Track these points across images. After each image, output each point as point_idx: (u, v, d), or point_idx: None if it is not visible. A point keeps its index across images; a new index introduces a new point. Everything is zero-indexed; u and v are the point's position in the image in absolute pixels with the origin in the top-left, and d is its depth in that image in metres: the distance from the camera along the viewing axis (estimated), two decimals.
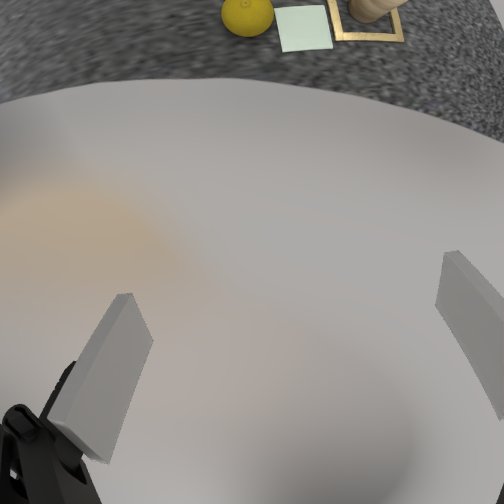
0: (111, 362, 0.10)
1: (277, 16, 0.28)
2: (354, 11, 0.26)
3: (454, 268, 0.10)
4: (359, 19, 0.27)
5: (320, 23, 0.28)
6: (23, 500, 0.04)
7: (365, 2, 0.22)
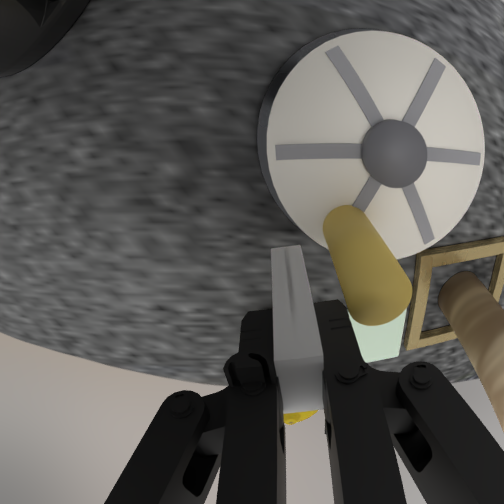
0: None
1: None
2: (447, 319, 0.19)
3: (284, 261, 0.13)
4: None
5: (392, 329, 0.22)
6: (186, 494, 0.06)
7: (470, 360, 0.16)
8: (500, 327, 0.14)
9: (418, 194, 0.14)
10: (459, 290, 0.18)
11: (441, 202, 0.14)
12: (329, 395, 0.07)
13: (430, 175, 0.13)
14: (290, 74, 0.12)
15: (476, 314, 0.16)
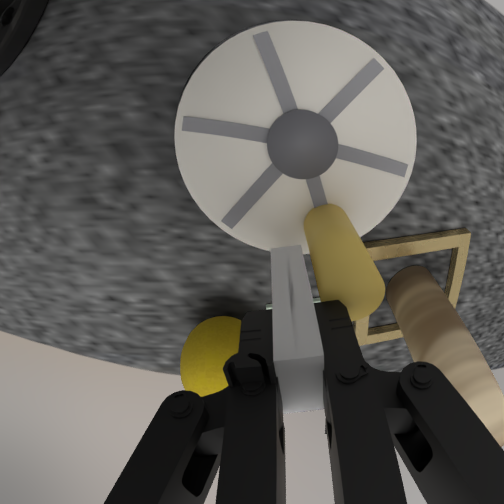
0: None
1: None
2: (394, 315, 0.20)
3: (285, 261, 0.13)
4: None
5: None
6: (185, 494, 0.06)
7: (413, 360, 0.16)
8: (443, 327, 0.15)
9: (356, 149, 0.14)
10: (405, 285, 0.19)
11: (384, 133, 0.13)
12: (330, 395, 0.07)
13: (351, 124, 0.13)
14: (180, 168, 0.14)
15: (419, 311, 0.17)
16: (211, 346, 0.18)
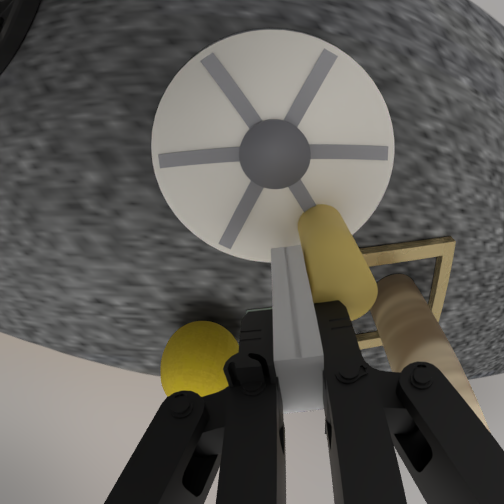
0: None
1: None
2: None
3: (285, 261, 0.13)
4: None
5: None
6: (185, 494, 0.06)
7: (392, 370, 0.17)
8: (421, 338, 0.15)
9: (330, 144, 0.14)
10: (386, 294, 0.19)
11: (354, 121, 0.13)
12: (329, 395, 0.07)
13: (319, 121, 0.13)
14: (168, 203, 0.15)
15: (398, 321, 0.17)
16: (189, 350, 0.18)
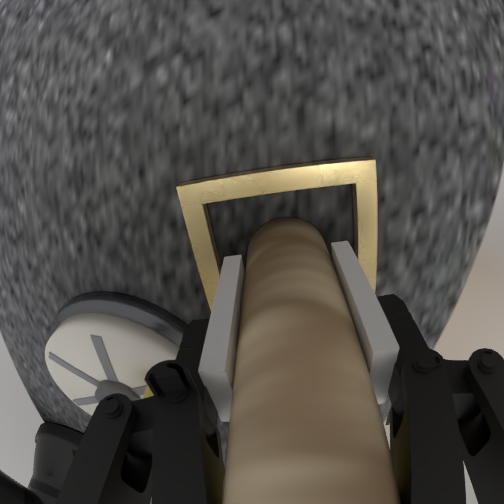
0: (239, 316, 0.11)
1: None
2: None
3: (335, 256, 0.12)
4: None
5: None
6: (128, 489, 0.06)
7: None
8: None
9: (103, 369, 0.16)
10: None
11: (83, 352, 0.16)
12: (406, 382, 0.06)
13: (92, 370, 0.17)
14: None
15: None
16: None
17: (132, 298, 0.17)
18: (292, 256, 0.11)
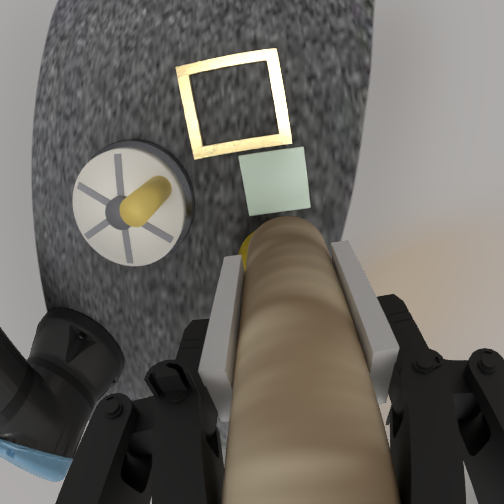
0: (239, 316, 0.11)
1: (261, 212, 0.30)
2: None
3: (335, 256, 0.12)
4: None
5: (267, 161, 0.28)
6: (127, 489, 0.06)
7: None
8: None
9: (116, 185, 0.26)
10: None
11: (105, 172, 0.26)
12: (406, 382, 0.06)
13: (107, 190, 0.27)
14: (150, 263, 0.30)
15: None
16: None
17: (142, 140, 0.27)
18: (291, 254, 0.11)
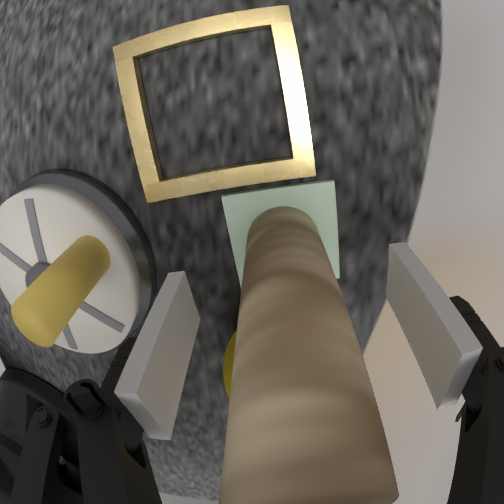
0: (171, 335, 0.11)
1: None
2: None
3: (396, 258, 0.11)
4: None
5: (272, 205, 0.16)
6: (68, 491, 0.05)
7: None
8: None
9: (34, 246, 0.15)
10: None
11: (18, 226, 0.14)
12: (489, 377, 0.05)
13: (25, 252, 0.15)
14: (99, 352, 0.19)
15: None
16: None
17: (71, 171, 0.16)
18: (286, 237, 0.13)
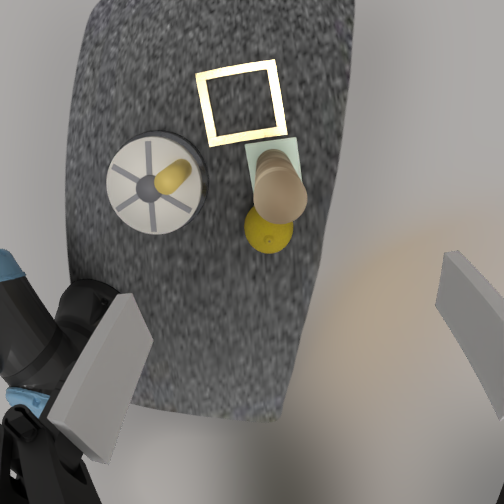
0: (111, 362, 0.10)
1: None
2: None
3: (454, 268, 0.10)
4: None
5: (268, 148, 0.34)
6: (23, 500, 0.04)
7: None
8: None
9: (146, 166, 0.33)
10: None
11: (136, 156, 0.33)
12: None
13: (138, 170, 0.33)
14: (171, 231, 0.37)
15: None
16: (245, 232, 0.34)
17: (167, 131, 0.34)
18: (273, 153, 0.31)
